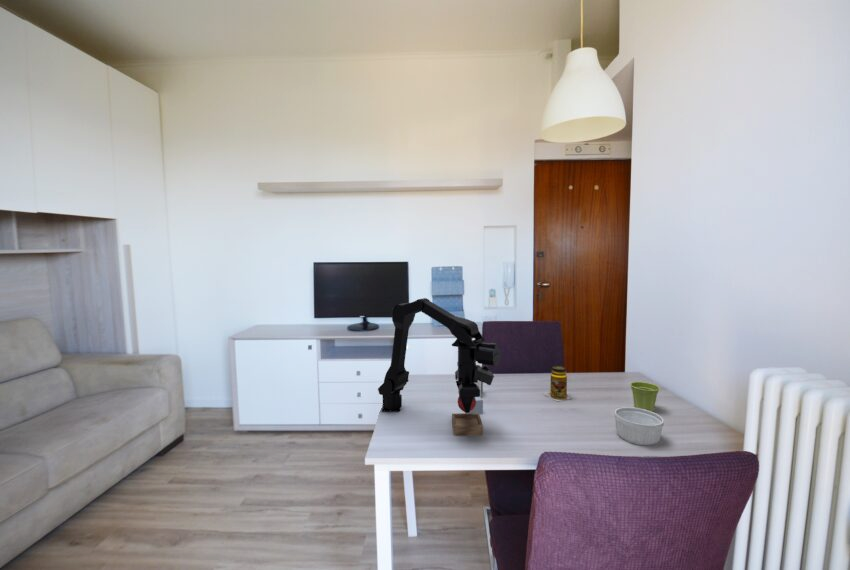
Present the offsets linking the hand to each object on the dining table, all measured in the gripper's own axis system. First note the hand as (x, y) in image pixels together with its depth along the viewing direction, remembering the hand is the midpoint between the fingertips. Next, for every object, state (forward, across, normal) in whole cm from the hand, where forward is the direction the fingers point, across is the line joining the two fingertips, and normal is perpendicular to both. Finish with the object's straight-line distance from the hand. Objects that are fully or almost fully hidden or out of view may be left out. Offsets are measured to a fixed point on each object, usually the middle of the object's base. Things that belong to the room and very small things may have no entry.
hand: (466, 408), depth 121 cm
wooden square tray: (+7, 0, 0) cm, 7 cm away
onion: (+2, 0, 0) cm, 2 cm away
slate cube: (+7, +14, -4) cm, 16 cm away
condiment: (+7, +28, -39) cm, 49 cm away
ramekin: (+7, -6, -52) cm, 53 cm away
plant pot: (+7, +15, -66) cm, 68 cm away
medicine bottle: (+7, +31, -6) cm, 32 cm away
